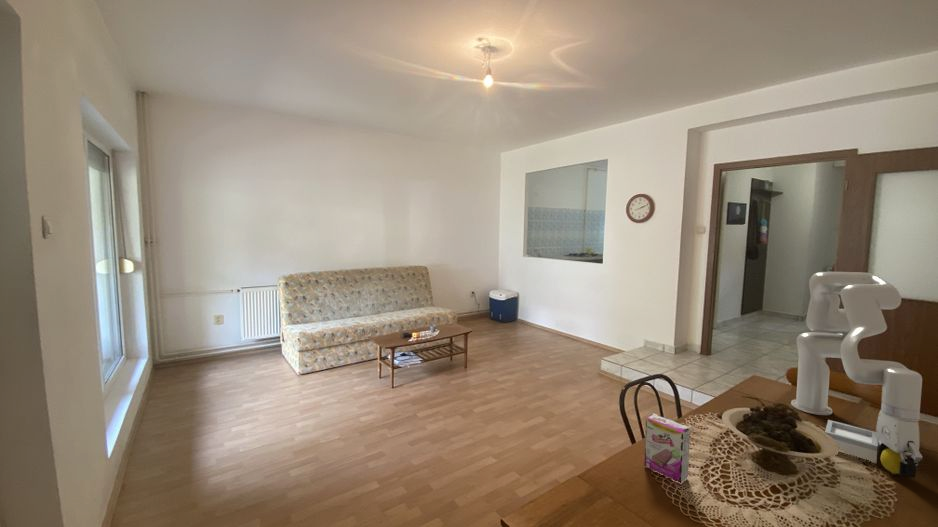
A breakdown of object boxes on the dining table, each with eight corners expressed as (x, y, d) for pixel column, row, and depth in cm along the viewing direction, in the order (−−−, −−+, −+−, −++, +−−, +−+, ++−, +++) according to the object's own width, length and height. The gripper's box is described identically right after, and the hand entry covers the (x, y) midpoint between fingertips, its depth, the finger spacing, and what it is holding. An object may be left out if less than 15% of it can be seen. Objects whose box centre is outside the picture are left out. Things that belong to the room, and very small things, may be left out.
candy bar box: (643, 468, 118) (644, 417, 117) (651, 462, 121) (653, 412, 120) (681, 487, 109) (683, 432, 108) (688, 480, 112) (690, 426, 111)
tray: (827, 434, 136) (828, 419, 135) (876, 448, 127) (877, 432, 127) (823, 447, 128) (825, 431, 127) (876, 463, 119) (877, 446, 119)
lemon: (898, 470, 116) (900, 445, 115) (912, 481, 110) (914, 455, 110) (874, 466, 117) (876, 441, 117) (887, 477, 112) (889, 451, 112)
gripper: (864, 397, 121) (861, 449, 123) (904, 422, 105) (900, 482, 106) (895, 400, 119) (891, 454, 120) (941, 426, 103) (936, 488, 104)
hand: (895, 467), depth 113 cm, fingers open, 8 cm apart
